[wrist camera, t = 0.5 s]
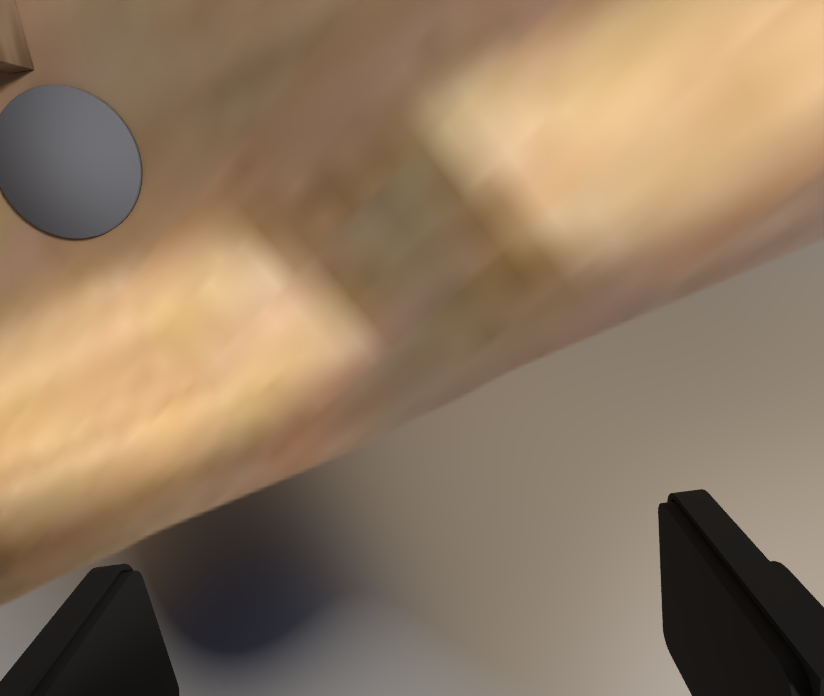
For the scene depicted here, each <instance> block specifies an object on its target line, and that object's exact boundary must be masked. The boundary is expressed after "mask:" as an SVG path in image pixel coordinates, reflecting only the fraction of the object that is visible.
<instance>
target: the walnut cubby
mask: <svg viewBox="0 0 824 696" xmlns="http://www.w3.org/2000/svg"><path fill="white" fill-rule="evenodd" d="M28 70H34V67H33V64H32V60H31V57H30V53H29V50H28V46H27V43H26V39H25V36H24V32H23V28H22V25H21V21H20V18H19V14H18V11H17V7H16V4H15V0H0V71H2V72H7V73H15V72H22V71H28Z"/></svg>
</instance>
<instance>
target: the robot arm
mask: <svg viewBox="0 0 824 696" xmlns="http://www.w3.org/2000/svg"><path fill="white" fill-rule="evenodd" d="M658 518H659V543H660V568H661V592H662V617H663V633H664V637H665V641H666V645H667V647H668V650H669V652H670V654H671V656H672V658H673V660H674V662H675V664H676V666H677V668H678V669H679V672H680V673H681V675H682V677H683V679H684V681H685V683H686V685H687V687H688V688H689V691H690V693H691V695H692V696H824V607H823V606H822V605H821V604H820V603H819V602H818V601H817V600H816V599H815V598H814V597H813V595H811V593H810V592H809V591H808V590H807V589H806V588H805V587H804V586H803V585H802V584H801V583H800V581H799V580H798V579H797V578H796V577H795V576H794V575H793V574H792V573H791V572H790V571H789V570H788V569H787V568H786V567H785V566H784V565H783V564H781V563H779V562H776V561H771V562H770V561H769V560H768V559H767V558H766V557H765V556H764V554H763V553H762V552H761V551H760V550H759V549H758V548H757V547H756V546H755V544H754V543H753V542H752V541H751V540H750V539H749V538H748V537H747V535H746V534H745V533H744V532H743V531H742V530H741V529H740V528H739V527H738V525H737V524H736V523H735V522H734V521H733V520H732V519H731V518H730V517H729V516H728V514H727V513H726V512H725V511H724V510H723V509H722V508H721V507H720V505H719V504H718V503H717V502H716V501H715V500H714V499H713V498H712V497H711V495H710V494H709V493H708V492H707V491H705V490H702V489H701V490H693V491H686V492H677V493H671V494H670V495H669V496H668V501H667V503H660V504H659V508H658ZM0 696H179V687H178V683H177V680H176V677H175V674H174V671H173V668H172V665H171V662H170V659H169V656H168V653H167V650H166V647H165V644H164V641H163V637H162V635H161V631H160V628H159V625H158V622H157V619H156V616H155V613H154V610H153V607H152V604H151V601H150V598H149V595H148V592H147V589H146V586H145V583H144V580H143V577H142V575H141V573H140V572H138V571H133V569H132V568H131V567H130V566H129V565H128V564H120V565H111V566H104V567H97V568H93V569H92V570H91V571H90V572H89V573H88V574H87V575H86V576H85V578H84V579H83V580H82V581H81V582H80V584H79V585H78V586H77V588H76V589H75V590H74V591H73V592H72V594H71V595H70V596H69V597H68V599H67V600H66V601H65V602H64V604H63V605H62V606H61V607H60V608H59V610H58V611H57V612H56V613H55V615H54V616H53V617H52V618H51V620H50V621H49V622H48V623H47V625H46V626H45V627H44V628H43V629H42V631H41V632H40V633H39V634H38V636H37V637H36V638H35V639H34V641H33V642H32V643H31V644H30V646H29V647H28V648H27V649H26V651H25V652H24V653H23V654H22V656H21V657H20V658H19V659H18V660H17V662H16V663H15V664H14V665H13V667H12V668H11V669H10V670H9V672H8V673H7V674H6V675H5V676H4V678H3V679H2V680H1V681H0Z"/></svg>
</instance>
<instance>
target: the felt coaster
mask: <svg viewBox="0 0 824 696" xmlns="http://www.w3.org/2000/svg"><path fill="white" fill-rule="evenodd" d="M141 185H142V163H141V158H140V153H139V150H138V147H137V144H136V142H135V139H134V137H133V135H132V133H131V131H130V130H129V128H128V126H127V125H126V124H125V122H124V121H123V120H122V118H121V117H120V116H119V115H118V114H117V113H116V112H115V111H114V110H113V109H112V108H111V107H110V106H109V105H108V104H106V103H105V102H104V101H102V100H101V99H99V98H98V97H96V96H94V95H92V94H90V93H88V92H86V91H83V90H80V89H77V88H73V87H68V86H62V85H45V86H39V87H35V88H32V89H30V90H27V91H25V92H23V93H21V94H20V95H18V96H17V97H15V98H14V99H13V100H12V101H11V102H10V103H9V104H8V105H7V106H6V107H5V108H4V110H3V111H2V113H1V114H0V187H1V189H2V191H3V193H4V195H5V196H6V198H7V199H8V201H9V202H10V203H11V205H12V206H13V207H14V208H15V209H16V211H18V212H19V213H20V214H21V215H22V216H23V217H24V218H25V219H26V220H28V221H29V222H30V223H32V224H33V225H35V226H36V227H38V228H40V229H42V230H44V231H46V232H48V233H51V234H54V235H57V236H61V237H66V238H77V239H78V238H89V237H93V236H98V235H101V234H104V233H107V232H108V231H110V230H112V229H114V228H115V227H117V226H118V225H119V224H121V223H122V222H123V221H124V220H125V219H126V218H127V217H128V215H129V214H130V213H131V211H132V210H133V208H134V206H135V204H136V202H137V200H138V197H139V194H140V190H141Z"/></svg>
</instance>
